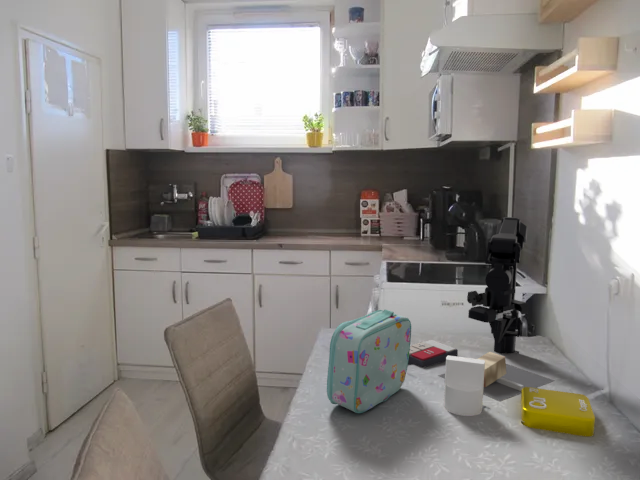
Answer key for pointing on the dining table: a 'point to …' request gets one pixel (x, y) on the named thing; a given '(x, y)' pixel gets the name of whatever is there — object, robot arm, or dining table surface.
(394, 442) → the dining table surface
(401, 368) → the lunch box
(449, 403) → the cylinder with rectangular tab
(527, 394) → the element tile
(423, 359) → the calculator
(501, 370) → the beech block
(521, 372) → the mat
